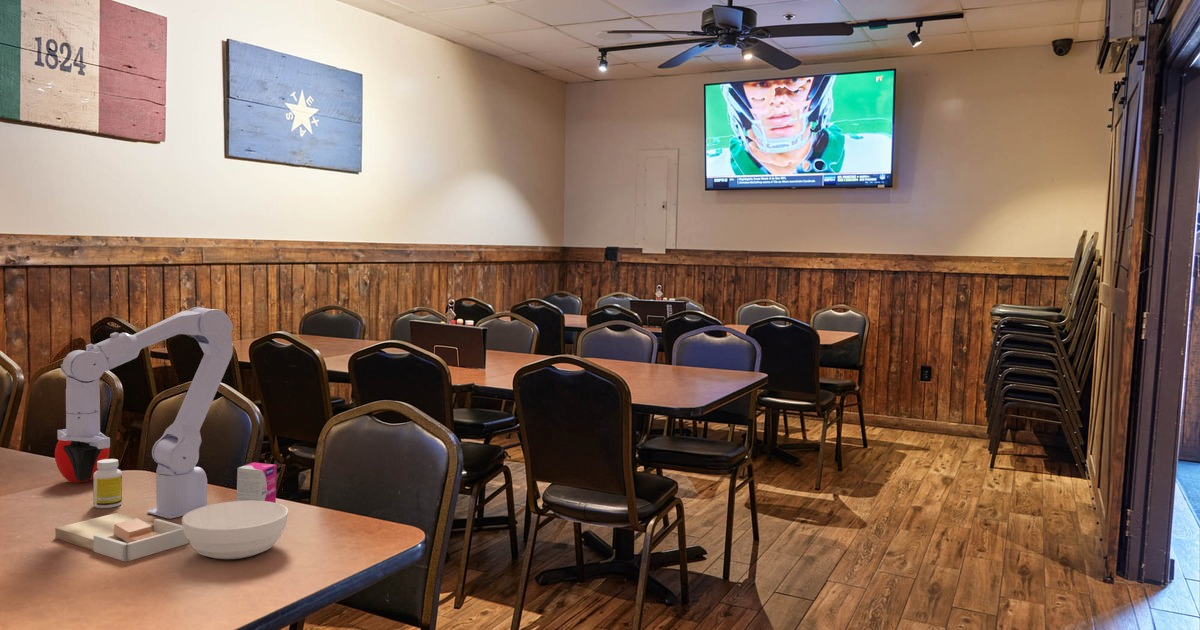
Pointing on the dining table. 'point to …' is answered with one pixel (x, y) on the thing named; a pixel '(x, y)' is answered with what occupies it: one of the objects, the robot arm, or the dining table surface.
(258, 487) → the supplement box
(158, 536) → the tray
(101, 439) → the robot arm
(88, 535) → the plate
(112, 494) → the supplement bottle
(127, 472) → the dining table surface
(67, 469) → the tomato
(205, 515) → the bowl
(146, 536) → the tile
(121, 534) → the tile
